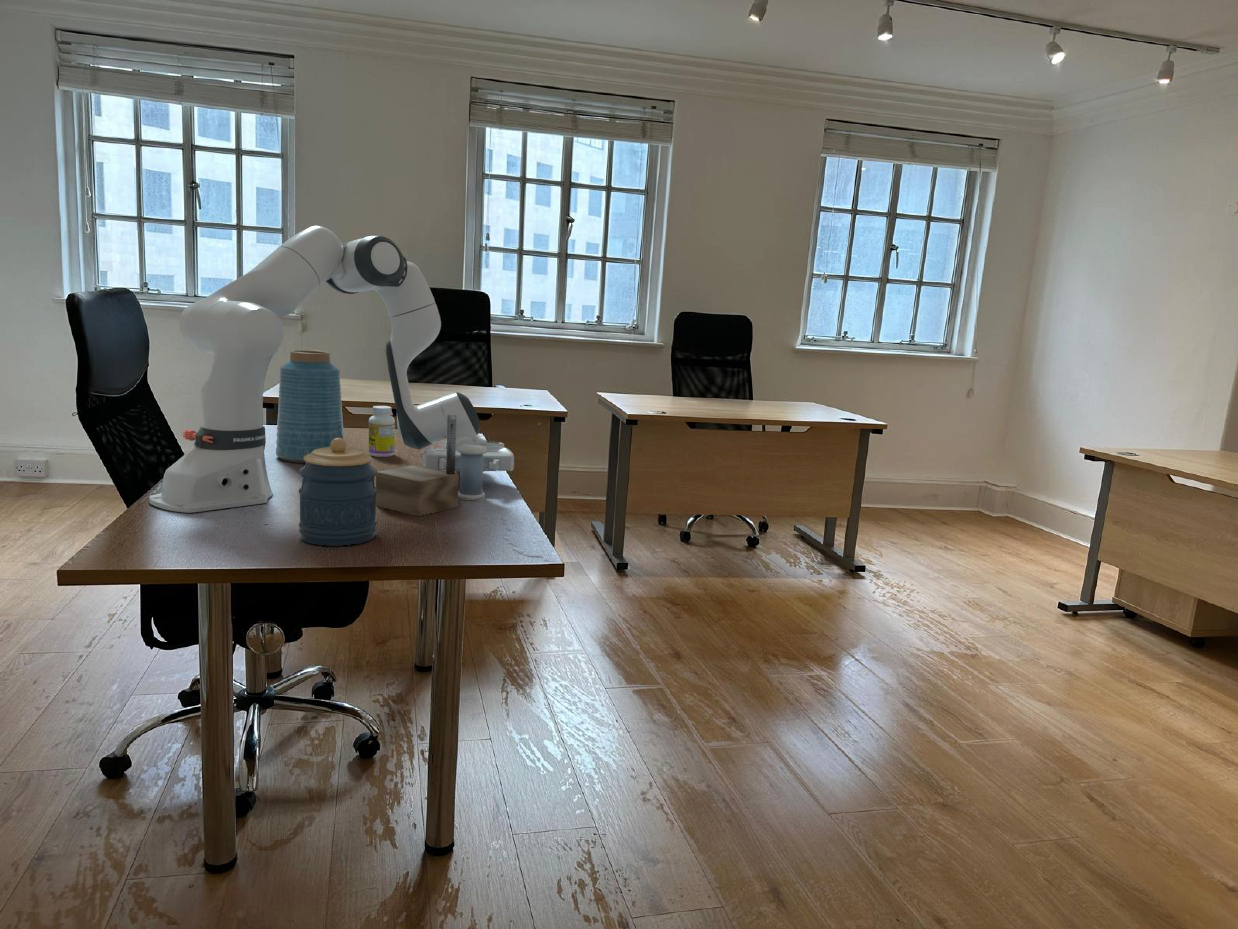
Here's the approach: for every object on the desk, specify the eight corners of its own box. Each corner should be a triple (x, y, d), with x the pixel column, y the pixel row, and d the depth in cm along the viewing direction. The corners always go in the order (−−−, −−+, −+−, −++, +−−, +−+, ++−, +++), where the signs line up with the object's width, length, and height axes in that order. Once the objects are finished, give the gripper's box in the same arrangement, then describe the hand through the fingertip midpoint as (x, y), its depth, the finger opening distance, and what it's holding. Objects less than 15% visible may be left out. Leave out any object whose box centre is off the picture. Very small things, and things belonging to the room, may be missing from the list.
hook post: (447, 478, 167) (448, 418, 165) (445, 472, 173) (447, 414, 171) (456, 478, 168) (458, 419, 165) (454, 472, 173) (456, 414, 171)
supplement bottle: (366, 453, 223) (366, 405, 221) (391, 452, 226) (392, 405, 224) (371, 458, 218) (371, 408, 215) (397, 457, 221) (397, 408, 218)
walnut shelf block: (418, 516, 165) (419, 481, 163) (375, 505, 171) (376, 471, 169) (457, 507, 174) (458, 473, 172) (415, 497, 180) (416, 464, 179)
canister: (333, 523, 156) (333, 429, 153) (391, 534, 152) (393, 437, 149) (282, 539, 144) (280, 438, 141) (343, 552, 140) (344, 447, 137)
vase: (274, 452, 216) (272, 347, 211) (340, 451, 223) (340, 350, 218) (278, 465, 202) (276, 353, 197) (348, 463, 209) (349, 355, 204)
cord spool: (471, 502, 179) (473, 451, 177) (450, 497, 182) (452, 446, 180) (490, 497, 184) (492, 447, 182) (469, 492, 187) (471, 443, 185)
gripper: (420, 440, 193) (422, 451, 180) (510, 442, 198) (517, 453, 185) (420, 467, 194) (421, 480, 181) (508, 469, 199) (516, 481, 186)
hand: (470, 467), depth 183 cm, fingers open, 8 cm apart
